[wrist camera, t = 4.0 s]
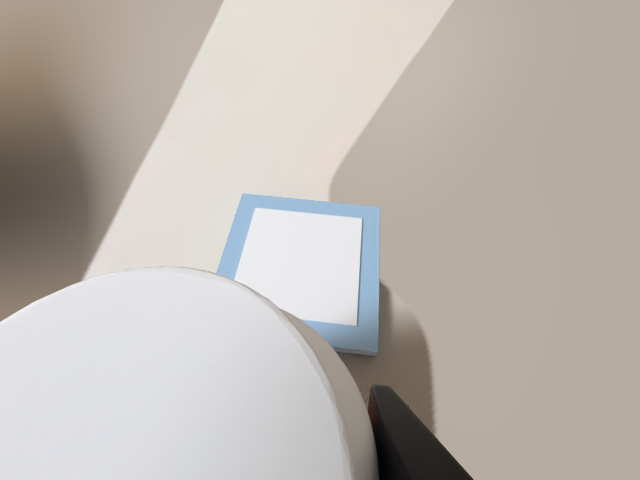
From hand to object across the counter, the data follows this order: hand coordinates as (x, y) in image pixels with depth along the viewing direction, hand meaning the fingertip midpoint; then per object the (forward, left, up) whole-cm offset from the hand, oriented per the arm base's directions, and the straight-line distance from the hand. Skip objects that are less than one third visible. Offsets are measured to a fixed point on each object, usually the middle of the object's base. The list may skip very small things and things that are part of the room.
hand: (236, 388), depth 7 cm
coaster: (+7, 0, -7) cm, 9 cm away
